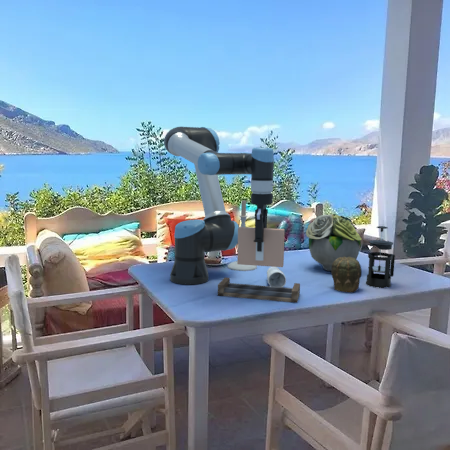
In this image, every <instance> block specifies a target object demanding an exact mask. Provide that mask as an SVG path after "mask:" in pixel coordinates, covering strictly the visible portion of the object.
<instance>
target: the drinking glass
mask: <svg viewBox="0 0 450 450" xmlns="http://www.w3.org/2000/svg"><path fill="white" fill-rule="evenodd" d="M266 277H267V278H266V279H267V283H268V286H272V287H284V288H285V285H286V283H287V277H286V275H285V273H284V272H283V271H282V270H280V269H279V267H270V266H269V268H267V271H266Z"/></svg>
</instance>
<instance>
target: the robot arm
mask: <svg viewBox="0 0 450 450" xmlns="http://www.w3.org/2000/svg"><path fill="white" fill-rule="evenodd" d="M163 143H164V145H163V146H164V148H165V149H166V151H167V152H168V153H169V154H170V155H173V156H174V157H181V158H183V159H184V160H187V161H189V162H190V163H192V164H193V165H194V168H195V174H196V180H197V183H198V188H199V194H200V198H201V203H202V207H203V212H204V216H205V217H204V218H203V219H188V220H183V221H180V222H178V223H177V224H176V225H175V226H174V235H173V236H174V262H173V265H172V268H171V271H170V277H169V278H170V279H169V280H170V281H171V282H173V283H175V284H178V285H179V284H180V285H199V284H200V285H201V284H204V283H206V282H208V281H209V272H208V271H209V270H208V268H207V265H206V262H205V253H211V252H212V253H213V252H220V251H222V252H223V251H224V252H225V251H228V250H234V248H236V247H237V246H238V228H239V227H240V225H239V224H238V223H237V221H235V220H232V217H231V214H229V213H228V212H227V211H226V206H225V203H224V200H223V199H224V198H223V195H222V190H221V186H220V179H219V176H220V175H224V176H225V175H251V179H250V180H251V181H250V192H251V194H250V203H251V205H256V209H255V210H254V228H255V240H254V242H256V260H260V261H263V260H264V242H263V241H264V240H263V236H264V228H268V214H269V209H268V208H267V206H268V205H272V204H273V200H274V198H273V197H274V195H273V193H272V192H273V190H274V189H273V188H274V187H275V185H276V184H275V183H274V169H275V168H274V167H275V166H274V164H275V163H274V162H275V157H274V156H275V154H274V149H273V148H272V147H253V148H252V149H251V153H249V152H234V153H233V152H219V150H220V138H219V135H218V134H217V132H216V130H215V129H212V128H210V127H204V126H201V127H198V126H197V127H196V126H195V127H194V126H175V127H173V128H172V129H170V130H169V131H168V132H166V134H165V135H164V139H163ZM218 175H219V176H218Z"/></svg>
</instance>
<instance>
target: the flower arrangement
mask: <svg viewBox="0 0 450 450" xmlns="http://www.w3.org/2000/svg"><path fill="white" fill-rule="evenodd" d="M305 235H306V237H307V238H308V250H309V252H310V256H311V258H312V259H313V260H314V261H315V262H317V263H318V264H320V265H321V266H322V269H323V270H325V271H328V272H331V269H332V264H333V262H334V261H335V260H336V259H337V258H340V257H342V258H343V257H346V258H347V257H351V258H355V259H356V260H358V259H357V258H358V256H359V253H360V248H362V245H361V244H362V243H361V242H362V241H361V240H363V239H362V237H361V235H360V234H359V233H358V231H357V230H356V227H354V225H352V220H351V218H348V217H347V216H343V215H338V214H335V213H333V214H332V213H330V214H329V213H327V214H322V215H317V216H316V217H315V218H314V220H313V221H312V222H311V223H309V224H308V225H307V229H306V230H305Z"/></svg>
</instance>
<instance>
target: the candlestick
mask: <svg viewBox="0 0 450 450" xmlns="http://www.w3.org/2000/svg"><path fill="white" fill-rule="evenodd" d="M240 203H241V206H240V207H241V208H240V209H241V210H240V212H241V214H240V215H239V217H240V222H241V224H240V227H247V226H246V221H247V217H248V215H246V213H247V200H241V202H240ZM237 261H238V260H235V261H232V262H230V263H228V264H227V268H228V269H229V270H231V271H237V272H238V271H239V272H249V271H254V270H257V268H258V266H255V265H240V264H237Z"/></svg>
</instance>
